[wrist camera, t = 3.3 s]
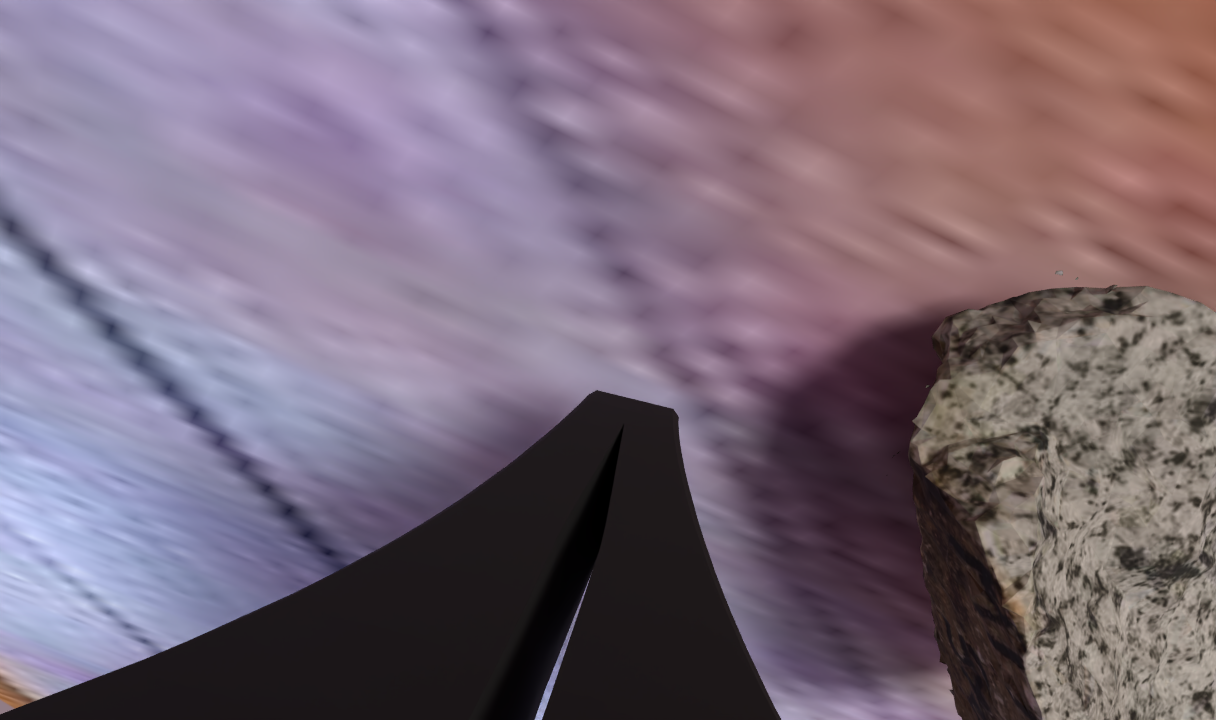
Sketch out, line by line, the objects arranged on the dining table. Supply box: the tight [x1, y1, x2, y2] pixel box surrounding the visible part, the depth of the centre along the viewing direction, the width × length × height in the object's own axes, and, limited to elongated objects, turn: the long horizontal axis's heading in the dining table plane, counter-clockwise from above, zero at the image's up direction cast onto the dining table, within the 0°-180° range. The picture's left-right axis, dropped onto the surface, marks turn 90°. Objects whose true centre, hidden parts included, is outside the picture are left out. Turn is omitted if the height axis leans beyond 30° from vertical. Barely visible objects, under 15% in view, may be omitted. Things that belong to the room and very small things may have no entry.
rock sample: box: [886, 271, 1216, 720], centre depth 8 cm, size 10×8×9 cm
